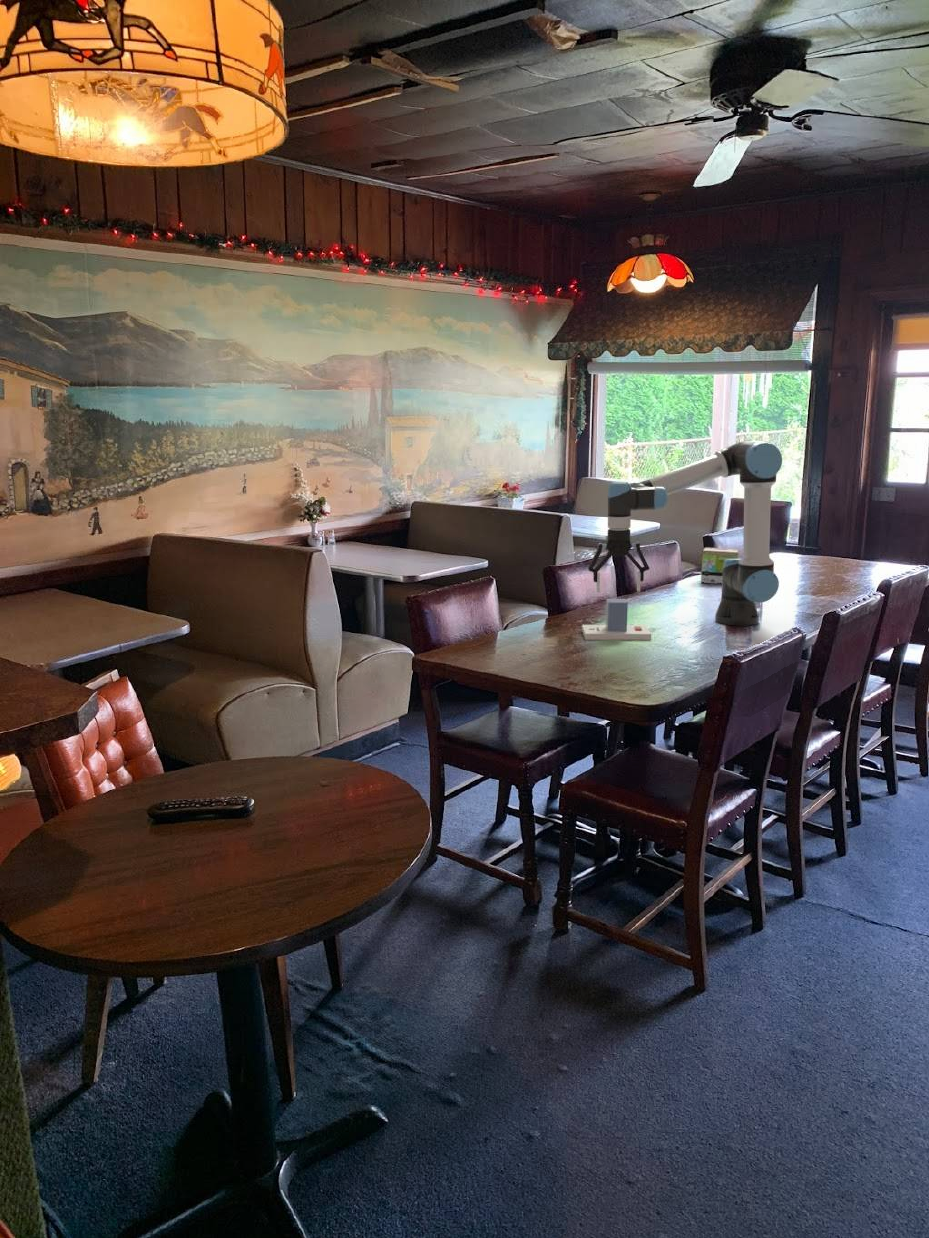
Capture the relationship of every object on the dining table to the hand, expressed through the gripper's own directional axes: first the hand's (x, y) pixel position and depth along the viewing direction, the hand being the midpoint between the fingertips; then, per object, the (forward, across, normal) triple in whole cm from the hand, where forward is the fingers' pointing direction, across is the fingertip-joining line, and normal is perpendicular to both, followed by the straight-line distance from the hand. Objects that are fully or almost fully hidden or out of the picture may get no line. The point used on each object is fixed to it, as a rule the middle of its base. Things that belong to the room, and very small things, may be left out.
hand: (618, 591), depth 316 cm
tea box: (+17, -56, -98) cm, 114 cm away
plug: (+15, +1, 0) cm, 15 cm away
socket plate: (+15, +1, 0) cm, 15 cm away
